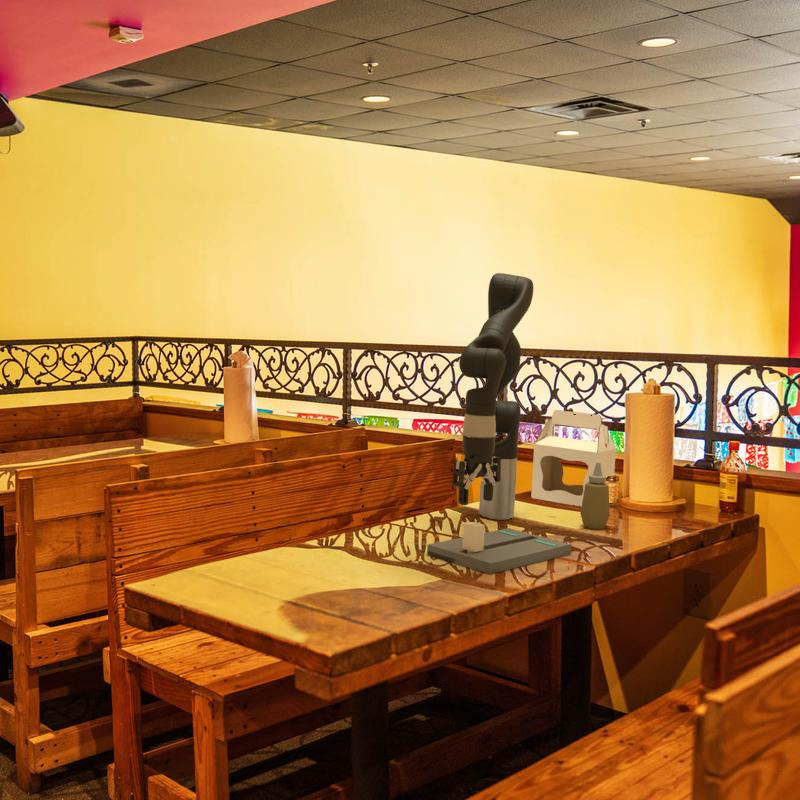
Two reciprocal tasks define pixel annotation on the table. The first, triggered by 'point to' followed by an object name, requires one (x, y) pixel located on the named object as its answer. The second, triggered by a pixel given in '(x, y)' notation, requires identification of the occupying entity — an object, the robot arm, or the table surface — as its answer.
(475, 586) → the table surface
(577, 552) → the table surface
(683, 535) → the table surface
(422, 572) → the table surface
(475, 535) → the fader tab
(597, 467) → the squeeze bottle
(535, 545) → the panel
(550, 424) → the gable box
